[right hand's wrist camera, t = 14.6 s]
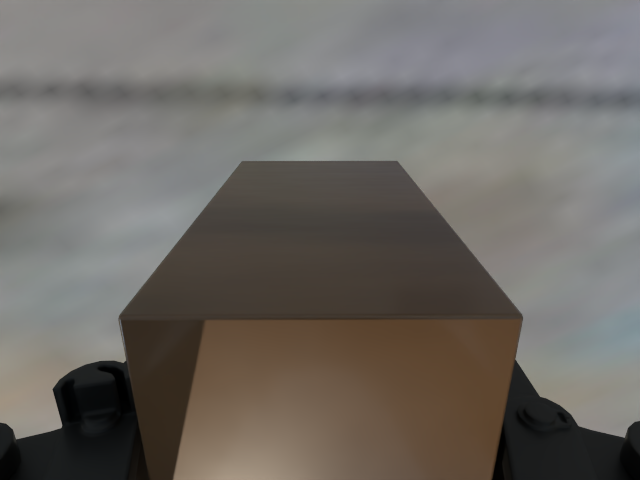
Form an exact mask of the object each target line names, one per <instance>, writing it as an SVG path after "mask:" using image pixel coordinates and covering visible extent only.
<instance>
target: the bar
mask: <svg viewBox="0 0 640 480" xmlns="http://www.w3.org/2000/svg"><path fill="white" fill-rule="evenodd" d="M522 321H523V316H522V314H521V313H520V311H519V310H518V309H517V308H516V306H515V305H514V304H513V303H512V302H511V300H510V299H509V298H508V297H507V295H506V294H505V293H504V292H503V290H502V289H501V288H500V287H499V286H498V284H497V283H496V282H495V281H494V279H493V278H492V277H491V276H490V274H489V273H488V272H487V271H486V270H485V268H484V267H483V266H482V265H481V263H480V262H479V261H478V260H477V258H476V257H475V256H474V255H473V254H472V252H471V251H470V250H469V249H468V247H467V246H466V245H465V244H464V242H463V241H462V240H461V239H460V238H459V236H458V235H457V234H456V233H455V231H454V230H453V229H452V228H451V226H450V225H449V224H448V223H447V222H446V220H445V219H444V218H443V217H442V215H441V214H440V213H439V212H438V210H437V209H436V208H435V207H434V206H433V204H432V203H431V202H430V201H429V199H428V198H427V197H426V196H425V194H424V193H423V192H422V191H421V190H420V188H419V187H418V186H417V185H416V183H415V182H414V181H413V180H412V178H411V177H410V176H409V175H408V174H407V172H406V171H405V170H404V169H403V167H402V166H401V165H400V164H399V162H398V161H242V162H241V163H240V164H239V166H238V167H237V168H236V170H235V171H234V172H233V173H232V175H231V176H230V177H229V178H228V180H227V181H226V182H225V183H224V185H223V186H222V187H221V188H220V190H219V191H218V192H217V193H216V195H215V196H214V197H213V198H212V200H211V201H210V202H209V203H208V205H207V206H206V207H205V208H204V210H203V211H202V212H201V213H200V215H199V216H198V217H197V218H196V220H195V221H194V222H193V224H192V225H191V226H190V227H189V229H188V230H187V231H186V232H185V234H184V235H183V236H182V237H181V239H180V240H179V241H178V242H177V244H176V245H175V246H174V247H173V249H172V250H171V251H170V252H169V254H168V255H167V256H166V257H165V259H164V260H163V261H162V262H161V264H160V265H159V266H158V267H157V269H156V270H155V271H154V272H153V274H152V275H151V276H150V278H149V279H148V280H147V281H146V283H145V284H144V285H143V286H142V288H141V289H140V290H139V291H138V293H137V294H136V295H135V296H134V298H133V299H132V300H131V301H130V303H129V304H128V305H127V306H126V308H125V309H124V310H123V311H122V313H121V314H120V315H119V325H120V330H121V335H122V340H123V345H124V351H125V356H126V361H127V366H128V371H129V377H130V382H131V387H132V392H133V397H134V402H135V408H136V413H137V418H138V423H139V428H140V434H141V439H142V444H143V449H144V454H145V460H146V465H147V470H148V475H149V480H492V478H493V473H494V467H495V462H496V457H497V452H498V446H499V441H500V436H501V431H502V426H503V420H504V415H505V410H506V405H507V399H508V394H509V389H510V384H511V379H512V373H513V368H514V363H515V358H516V352H517V347H518V342H519V337H520V332H521V326H522Z"/></svg>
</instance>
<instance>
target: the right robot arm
mask: <svg viewBox="0 0 640 480" xmlns="http://www.w3.org/2000/svg"><path fill="white" fill-rule="evenodd" d="M53 392H54V396H55V400H56V403H57V407H58V411H59V414H60V418H61V421H62V425H63V426H62V428H61V429H57V430H54V431H51V432H47V433H43V434H38V435H34V436H30V437H25V438H21V439H17V440H16V438H15V435H14V432H13V429H11V428H10V427H9V426H8V425H7V424H4V423H0V480H149V475H148V470H147V465H146V460H145V454H144V449H143V444H142V439H141V434H140V428H139V423H138V418H137V413H136V408H135V402H134V397H133V392H132V387H131V382H130V377H129V371H128V366H127V361H125V362H124V363H121V362H117V361H99V362H95V363H90V364H86V365H84V366H82V367H79V368H77V369H75V370H73V371H71V372H70V373H68V374H67V375H65V376H64V377H63V378H61V379H60V380H59V381H58V383H57V384H56V385H55V387H54V388H53ZM492 480H640V421H638V422H634V423H633V424H632V425H631V426H630V427H629V428H628V430H627V433H626V436H625V438H623V437H619V436H614V435H610V434H606V433H601V432H597V431H593V430H589V429H586V428H582V427H579V426H578V425H577V423H576V422H575V420H574V419H573V417H572V416H571V414H570V413H568V412H567V411H566V410H565V409H564V408H562V407H561V406H560V405H558V404H556V403H554V402H552V401H550V400H548V399H546V398H542V397H540V396H539V395H538V393H537V392H536V390H535V389H534V387H533V386H532V384H531V383H530V381H529V380H528V378H527V377H526V375H525V373H524V372H523V370H522V369H521V367H520V366H519V364H518V363H517V361H516V360H515V363H514V368H513V373H512V379H511V384H510V389H509V394H508V399H507V405H506V410H505V415H504V420H503V426H502V431H501V436H500V441H499V446H498V452H497V457H496V462H495V467H494V473H493V478H492Z"/></svg>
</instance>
